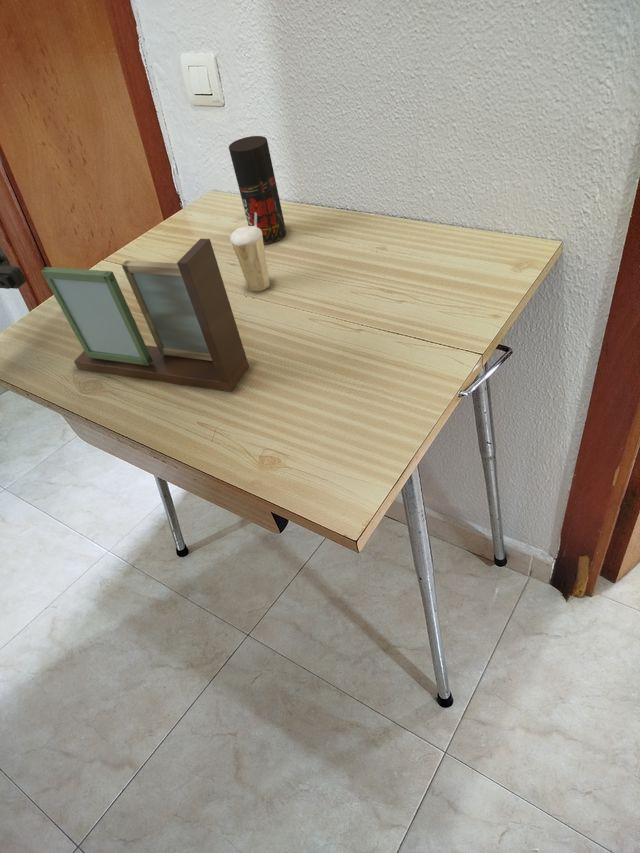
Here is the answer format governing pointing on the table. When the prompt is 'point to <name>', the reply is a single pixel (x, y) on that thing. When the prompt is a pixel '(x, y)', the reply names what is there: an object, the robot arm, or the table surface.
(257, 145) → the deodorant
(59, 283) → the panel
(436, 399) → the table surface
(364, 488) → the table surface
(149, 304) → the window frame
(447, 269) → the table surface
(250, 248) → the milkshake
